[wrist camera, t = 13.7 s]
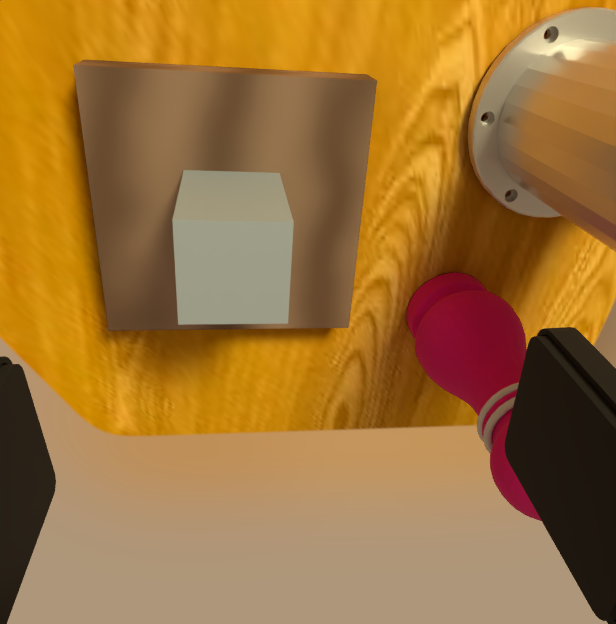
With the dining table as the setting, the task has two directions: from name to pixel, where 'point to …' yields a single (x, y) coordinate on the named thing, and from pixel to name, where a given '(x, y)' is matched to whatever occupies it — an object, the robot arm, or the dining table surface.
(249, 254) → the slate block
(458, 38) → the dining table surface
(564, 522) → the robot arm
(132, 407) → the dining table surface
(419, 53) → the dining table surface
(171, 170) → the walnut base
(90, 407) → the dining table surface
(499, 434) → the pepper mill
